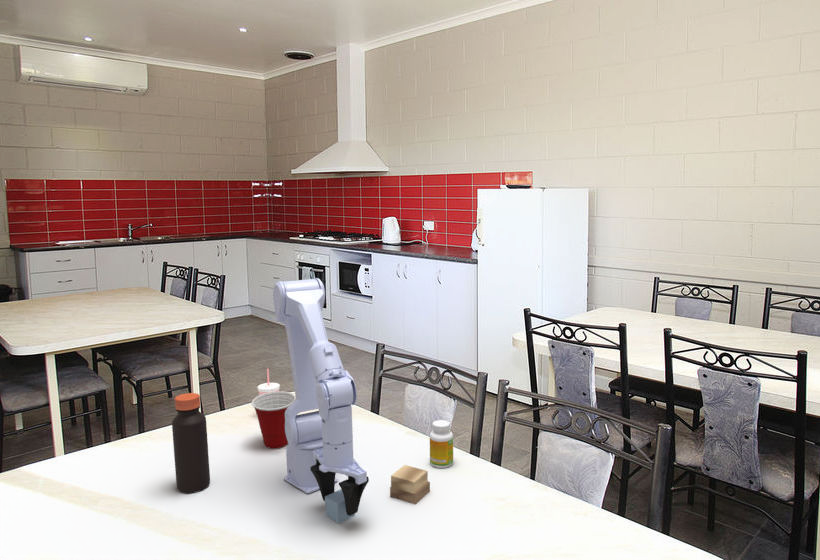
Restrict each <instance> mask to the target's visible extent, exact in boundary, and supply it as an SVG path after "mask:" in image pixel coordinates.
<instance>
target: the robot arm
mask: <svg viewBox="0 0 820 560" xmlns="http://www.w3.org/2000/svg"><path fill="white" fill-rule="evenodd" d="M272 292H273V293H272V299H273V305H274V313H275V316H276V320H277V321H278V322H280V323H282V324H284V328H285V332H286V337H287V338H286V339H287V345H288V351H289V352H288V353H289V358H290V365H291V371H292V372H291V373H292V381H293V386H294V387H293V388H294V393H295V394H294V395H295V396H296V399H295V400H294V401H293V402H292V404H291V405H290V406H289V407H288V408H287V409H286V411H285V433H286V438H287V440H288V444H287V445H286V446H287V447H286V451H285V454H286V456H285V458H286V476H284V477H283V480H284V481H286V482H288V483H289V484H291V485H293V486H294V487H296V488H297V489H299V490H300V491H302V492H304V493H306V494H310V493H313V492H316V491H320V494H321V498H322V500H323V502H325V496H327V495H329V494H332V493H334V492H335V483H336V482H338V478H336V474H340V475H345V476H346V477H347V478H346V479H345V480H342V481H340V482H339V483H338V486H339V487H340V490H341V489H342V492H343V495H344V499H345V507H346V513H347V515H349V516H351V515H353V514H355V515H356V514H357V513H358V510H359V507H360V502H361V499H362V497H363V493H364V490H365V488H366V487H367V485H368V483H369V481H370V480H369V476H368V474H367V473H368V471H366V470H365V469H363V467H362V466H361V465H360V464H359V463H358V462H357V460H356V459H355V458H354V439H353V438H354V437H353V436H354V435H353V408H352V406H353V405H355V404H356V402H357V399H358V398H357V397H358V392H357V391H358V390H357V386H356V382H355V380H354V378H353V377H352V375H351V374H350V372H349V371H348V370H347V369H346V370H345V368H344V366H343V362H342V360H341V357H340V354H339V353H340V352H339V351H338V348H337V346H336V344H334V343H332V342H330V341H329V338H328V333H327V330H326V325H325V321H324V317H323V313H322V311H323V308H324V305H325V300H326V289H325V285H324V283H323V282H322V281H321V279H320V278H318V277H315V278H310V279H299V280H287V281H281V280H278V281H277V282H276V283H275V284H274V286H273V291H272ZM314 410H315V411H314ZM309 411H310V412H309ZM304 412H305V413H304ZM300 413H301V414H300Z"/></svg>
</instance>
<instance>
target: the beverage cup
mask: <svg viewBox="0 0 820 560" xmlns="http://www.w3.org/2000/svg"><path fill="white" fill-rule="evenodd" d="M266 377H267V382H265V383H261V384H259V385H257V387H256V388H257V391H258V396H259V395H262V394H265V393H269V392H277V391H280V387H281V384H280V383H278V382H270V369H269V368H266Z"/></svg>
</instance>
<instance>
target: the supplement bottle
mask: <svg viewBox="0 0 820 560" xmlns="http://www.w3.org/2000/svg"><path fill="white" fill-rule="evenodd" d="M431 427H432V431H430V433H429V464H430V465H431V466H432V467H434V468H437V469H446V468H450V467H452V466H453V464H454V433H453V432H452V431H451V430H450V429H451V423H450V422H449V421H448V420H444V419H439V420H434V421H433V422H432V425H431Z"/></svg>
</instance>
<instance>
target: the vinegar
mask: <svg viewBox="0 0 820 560" xmlns="http://www.w3.org/2000/svg"><path fill="white" fill-rule="evenodd" d="M174 405H175V406H174V407H175V411H176V412H177V414H176V415H175V417H174V418H173V420H171V429H172V441H173V445H172V446H173V456H174V468H175V470H174V472H175V480H176V481H175V482H176V490H178V491H179V493H184V494H192V493H196V492H197V493H198V492H201V491H203V490H205V489H207V488H208V486H210V484H211V473H210V472H211V471H210V457H209V443H208V442H209V441H208V428H207V418H206V416H205V414H204V413H202V412H201V411H200V408H201V397H200V394H199V393H196V392H195V393H194V392H188V393H183V394H179V395H177V396H175V398H174Z"/></svg>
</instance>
